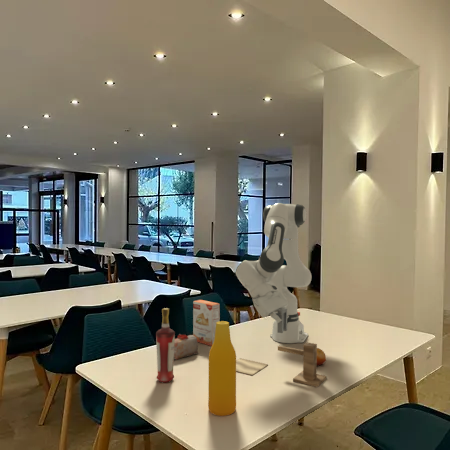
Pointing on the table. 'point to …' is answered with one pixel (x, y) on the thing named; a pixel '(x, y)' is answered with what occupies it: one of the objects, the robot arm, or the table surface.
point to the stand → (307, 364)
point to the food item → (185, 346)
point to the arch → (283, 324)
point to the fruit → (320, 357)
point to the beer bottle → (222, 372)
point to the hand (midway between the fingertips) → (283, 320)
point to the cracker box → (205, 320)
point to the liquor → (165, 349)
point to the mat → (249, 366)
